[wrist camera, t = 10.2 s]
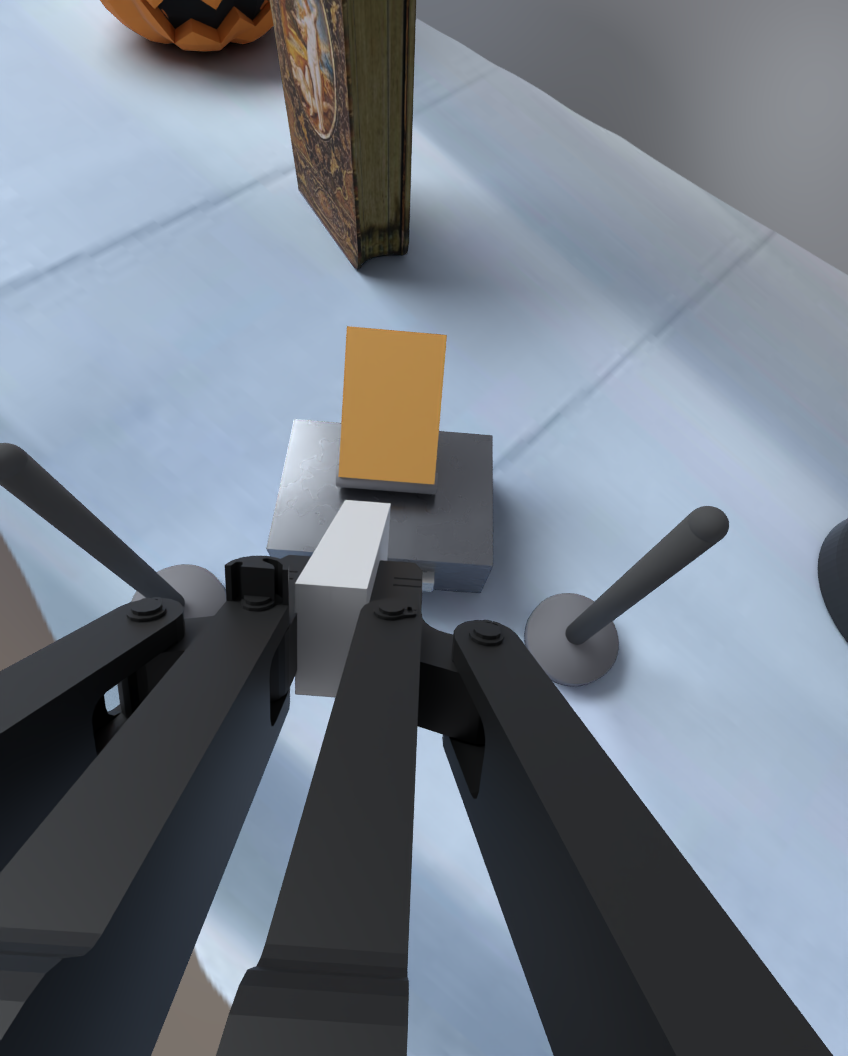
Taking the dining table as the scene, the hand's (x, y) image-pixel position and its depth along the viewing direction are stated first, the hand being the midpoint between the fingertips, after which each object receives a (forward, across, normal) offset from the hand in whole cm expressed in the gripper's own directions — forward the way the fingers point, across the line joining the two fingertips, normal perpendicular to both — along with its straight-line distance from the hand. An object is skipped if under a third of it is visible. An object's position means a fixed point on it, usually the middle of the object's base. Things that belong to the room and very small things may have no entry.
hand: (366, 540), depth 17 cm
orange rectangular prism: (+16, 0, +2) cm, 16 cm away
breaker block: (+21, +1, +6) cm, 21 cm away
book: (+46, +8, -19) cm, 50 cm away
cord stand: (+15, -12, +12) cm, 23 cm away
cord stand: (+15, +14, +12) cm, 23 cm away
